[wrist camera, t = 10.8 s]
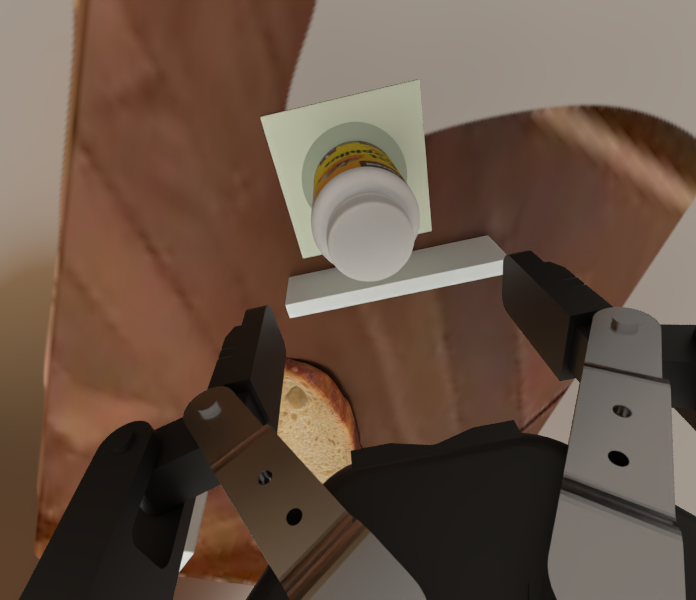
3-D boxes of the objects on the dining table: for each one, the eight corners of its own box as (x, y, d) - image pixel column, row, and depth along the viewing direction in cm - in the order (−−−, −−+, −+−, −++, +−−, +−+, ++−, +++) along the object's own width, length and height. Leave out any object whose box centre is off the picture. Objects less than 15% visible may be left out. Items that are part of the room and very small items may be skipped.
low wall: (487, 248, 29) (509, 273, 26) (293, 289, 30) (289, 318, 27) (487, 235, 28) (510, 258, 25) (289, 277, 29) (285, 305, 26)
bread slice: (349, 485, 47) (351, 515, 44) (210, 453, 42) (201, 485, 39) (427, 397, 39) (436, 426, 36) (266, 343, 33) (261, 372, 30)
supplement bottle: (397, 137, 24) (441, 181, 15) (391, 219, 27) (425, 295, 18) (310, 138, 23) (305, 184, 15) (315, 221, 26) (312, 299, 18)
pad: (430, 228, 28) (432, 231, 27) (303, 256, 28) (303, 259, 28) (418, 79, 22) (420, 79, 22) (260, 116, 23) (259, 117, 22)
